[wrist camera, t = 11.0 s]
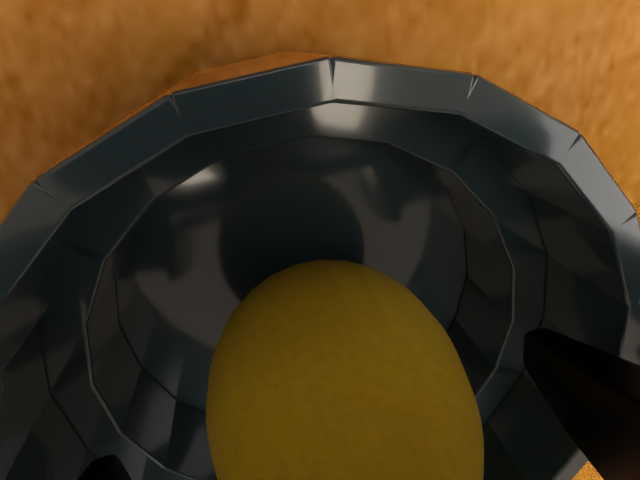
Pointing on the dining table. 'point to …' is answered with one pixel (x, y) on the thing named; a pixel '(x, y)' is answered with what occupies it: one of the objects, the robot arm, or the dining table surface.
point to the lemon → (339, 384)
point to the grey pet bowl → (301, 252)
